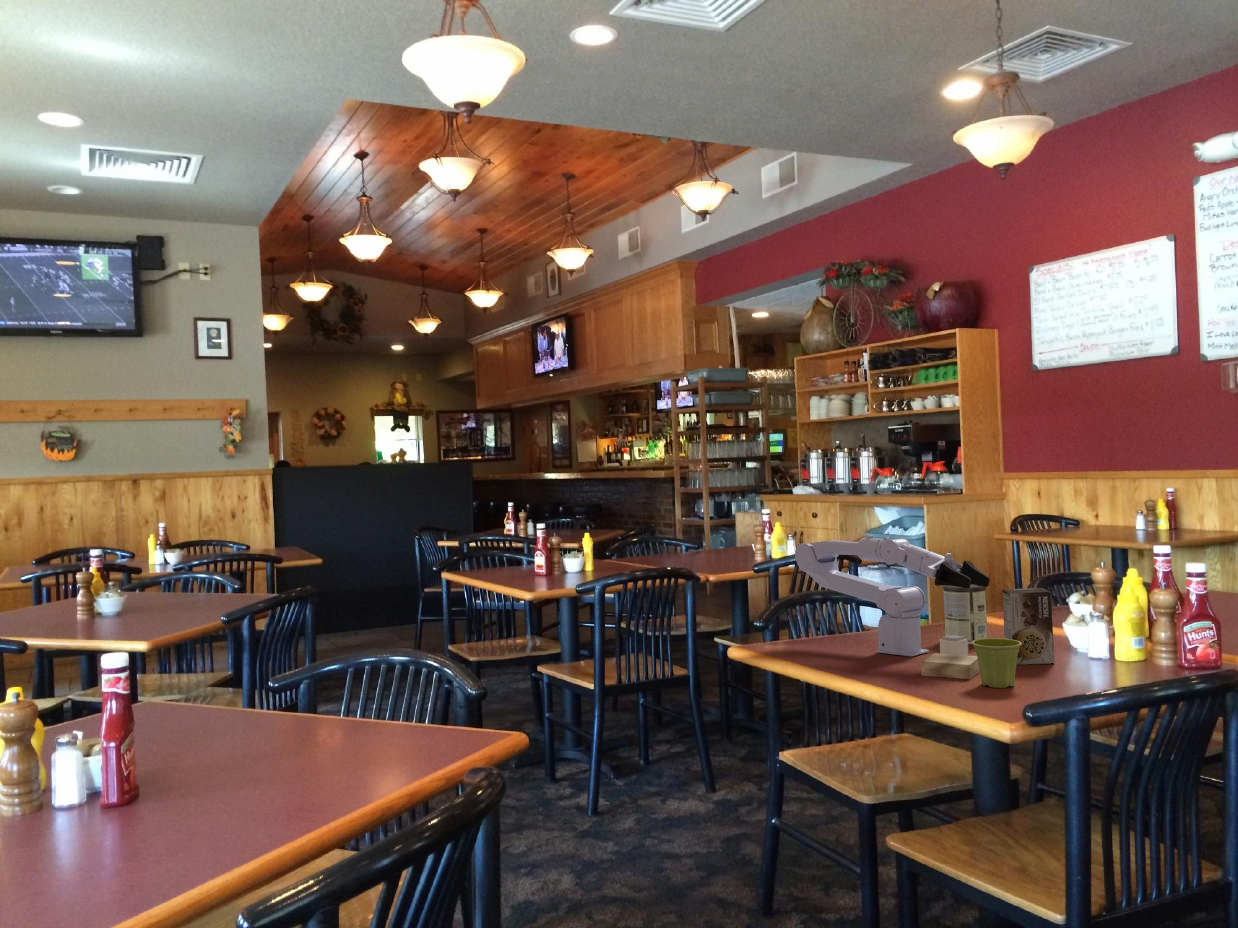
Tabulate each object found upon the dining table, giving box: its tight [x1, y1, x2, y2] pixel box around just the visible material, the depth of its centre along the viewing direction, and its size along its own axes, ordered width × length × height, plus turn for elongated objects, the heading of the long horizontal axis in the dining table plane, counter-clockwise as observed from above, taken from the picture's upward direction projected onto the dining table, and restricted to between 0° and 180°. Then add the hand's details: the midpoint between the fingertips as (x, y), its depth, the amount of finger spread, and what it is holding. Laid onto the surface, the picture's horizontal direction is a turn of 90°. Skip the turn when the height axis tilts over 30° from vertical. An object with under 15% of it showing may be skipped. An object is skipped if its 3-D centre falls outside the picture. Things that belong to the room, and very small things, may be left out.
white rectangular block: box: [939, 635, 969, 656], centre depth 224 cm, size 4×4×6 cm
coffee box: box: [1001, 587, 1056, 666], centre depth 223 cm, size 9×6×16 cm
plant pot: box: [971, 637, 1022, 689], centre depth 201 cm, size 9×9×9 cm
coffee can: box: [942, 584, 989, 645], centre depth 251 cm, size 10×10×14 cm
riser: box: [920, 652, 980, 680], centre depth 214 cm, size 10×10×3 cm
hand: (979, 583), depth 222 cm, fingers open, 7 cm apart
